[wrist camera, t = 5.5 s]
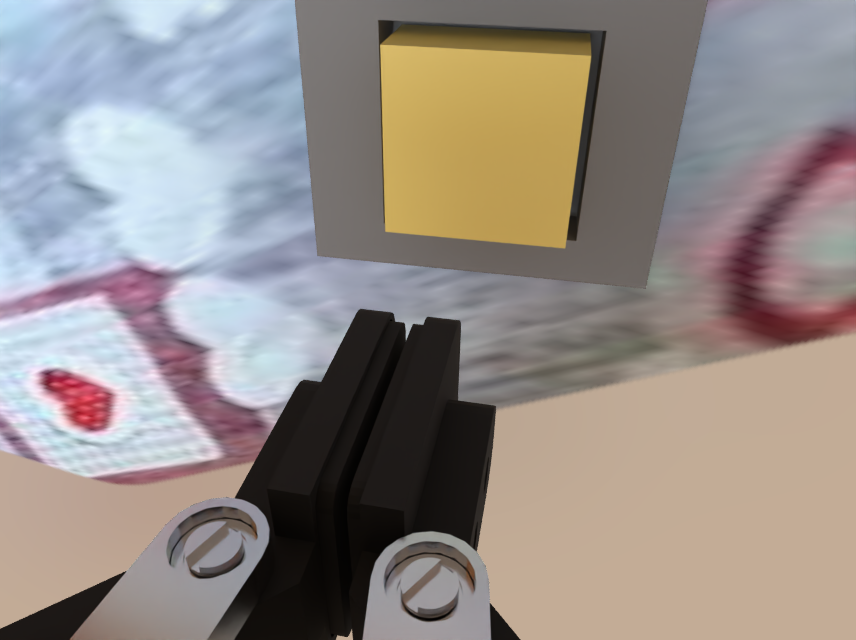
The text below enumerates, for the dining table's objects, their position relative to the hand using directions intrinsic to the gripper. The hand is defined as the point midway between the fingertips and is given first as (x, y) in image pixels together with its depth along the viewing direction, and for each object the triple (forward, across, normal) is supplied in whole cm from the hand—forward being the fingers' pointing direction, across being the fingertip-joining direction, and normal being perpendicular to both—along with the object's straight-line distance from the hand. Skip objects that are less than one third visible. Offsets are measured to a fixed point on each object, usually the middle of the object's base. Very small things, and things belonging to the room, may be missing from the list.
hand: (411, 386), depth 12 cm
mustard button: (+15, 0, 0) cm, 15 cm away
